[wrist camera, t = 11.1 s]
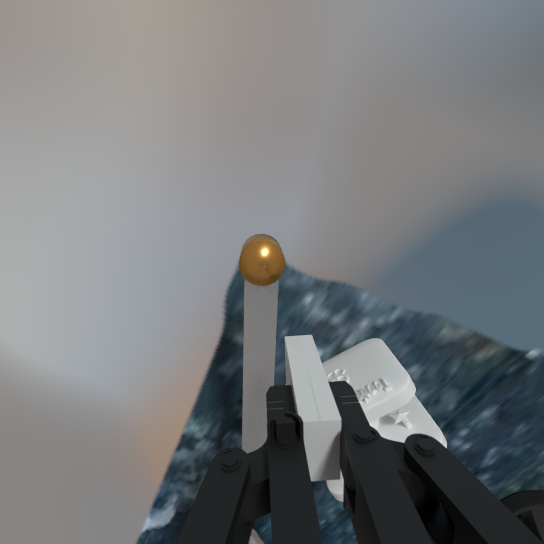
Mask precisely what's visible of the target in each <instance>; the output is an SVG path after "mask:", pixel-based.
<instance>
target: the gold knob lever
mask: <svg viewBox="0 0 544 544" xmlns="http://www.w3.org/2000/svg"><path fill="white" fill-rule="evenodd" d="M239 267H240V271H241V273H242V275H243V277H244V278H245V292H244V353H243V415H242V445H241V446H240V447H239V449H243V450H244V451H245V452H246V453H250V452H253V451H255V450H257V449H259V448H260V447H261V446H262V445H263V444H264V443H265V442H266V439H267V406H266V393H267V391H268V389H269V387H270V386H274V367H275V345H276V324H277V302H278V280H279V278H280V277H281V276H282V274H283V272H284V268H285V259H284V255H283V253H282V250H281V247H280V245H279V243H278V242H277V240H275V239H274V238H273V237H271V236H270V235H266V234H256V235H254V236H251V237H250V238H249V239H247V240H246V242H245V243H244V245H243V247H242V251H241V255H240V260H239Z"/></svg>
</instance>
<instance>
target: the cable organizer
mask: <svg viewBox="0 0 544 544" xmlns="http://www.w3.org/2000/svg"><path fill="white" fill-rule="evenodd" d="M322 366H323V368H324V371H325V374H326V377H327V380H328V382H332V381H346V382H347V383H348V384H349V385H351V386H352V387H353V389H354V392H355V394H356V396H357V398H358V400H359V403H360V405H361V407H362V409H363V411H364V413H365V416H366V418H367V420H368V422H369V424H370V426H372V427H373V428H374V429H376V430H377V431H378V432H379V434H380V435H381V437H383V438H386V439H389V440H393V441H398V442H403V443H405V440H406V438H407V437H408V436H410V435H411V434H417V433H420V434H425V435H428V436H431V437H433V438H435V439H436V440H438V441H439V442H440V443H441V444H442V445H443V446H444V447H445V448H446V449H447V442H446V439H445V437H444V435H443V434H442V432H441V430H440V429H439V427H438V426H437V425H436V423H435V422H434V421H433V419H432V418H431V416H430V415H429V414H428V412H427V411H426V410H425V408H424V407H423V406H422V404H421V403H420V401H419V400H418V399H417V397H416V396H415V395H414V394H415V392H416V388H415V385H414V383H413V382H412V380H411V378H410V376H409V374H408V373H407V372H406V370H405V369H404V368H403V367H402V365H401V364H400V363H399V361H398V360H397V359H396V358H395V356H394V355H393V354H392V352H391V351H390V350H389V349H388V347H387V346H386V345H385V343H384V342H383V341H382V340H381V339H378V338H373V339H368V340H365V341H363V342H361V343H359V344H357V345H355V346H353V347H351V348H349V349H348V350H346V351H344V352H342V353H340V354H338V355H336V356H335V357H333V358H331V359H329V360H327V361H325V362H323V363H322ZM286 385H287V384H286ZM326 482H327V486H328V489H329V490H330V492H331V493H332V495H333V496H334V497H335V498H336V499H337V500H338V501H341V502H343V489H344V479H343V476H342V472H341V473H340V479H338V480H326Z"/></svg>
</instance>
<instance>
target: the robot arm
mask: <svg viewBox="0 0 544 544" xmlns="http://www.w3.org/2000/svg"><path fill="white" fill-rule="evenodd" d="M285 359H286V381H287V385H282V386H270V387H269V389H268V391H267V393H266V406H267V439H266V442H265V443H264V444H263V445H262V446H261V447H260V448H259V449H257V450H255V451H253V452H250V453H246V452H245V451H244V450H243V449H239V448H227V449H224V450H222V451H220V452H219V453H218V454H216V456H215V457H214V459H213V460H212V462H211V464H210V467H209V469H208V471H207V474H206V476H205V478H204V480H203V483H202V485H201V487H200V489H199V492H198V494H197V496H196V498H195V501H194V503H193V505H192V508H191V510H190V512H189V514H188V517H187V519H186V521H185V523H184V526H183V528H182V530H181V532H180V535H179V537H178V539H177V542H176V544H249V540H250V536H251V532H252V528H253V524H254V520H255V519H257V518H259V517H262V516H264V515H266V514H268V513H271V525H272V544H322V538H321V533H320V527H319V522H318V516H317V511H316V505H315V500H314V494H313V489H312V483H311V481H325V480H338V479H340V473H341V472H342V476H343V479H344V489H343V508H344V509H347V506H348V510H349V513H350V517H351V520H352V524H353V528H354V531H355V535H356V539H357V542H358V544H544V491H543V490H530V491H524V492H520V493H517V494H514V495H511V496H509V497H507V498H505V499H503V500H502V501H500V500H499V499H498V498H497V497H496V496H495V495H494V494H493V493H491V492H490V491H489V490H488V489H487V488H486V487H485V486H484V485H483V484H482V483H481V482H480V481H479V480H478V479H477V478H476V477H475V476H474V475H473V474H472V473H471V472H470V471H469V470H468V469H467V468H466V467H465V466H464V465H463V464H462V463H461V462H460V461H459V460H458V459H457V458H456V457H455V456H454V455H453V454H452V453H451V452H450V451H448V450H447V449H446V448H445V447H444V446H443V445H442V444H441V443H440V442H439V441H438V440H436V439H435V438H433V437H431V436H428V435H425V434H420V433H417V434H411V435H410V436H408V437H407V438H406V440H405V443H403V442H398V441H393V440H389V439H386V438H383V437H381V435H380V434H379V432H378V431H377V430H376V429H374V428H373V427H372V426H370V424H369V422H368V420H367V418H366V416H365V413H364V411H363V409H362V407H361V405H360V403H359V400H358V398H357V396H356V394H355V392H354V389H353V387H352V386H351V385H349V384H348V383H347V382H346V381H332V382H328V380H327V377H326V374H325V371H324V368H323V366H322V363H321V360H320V357H319V354H318V351H317V349H316V346H315V343H314V340H313V337H312V335H303V336H287V337H285Z"/></svg>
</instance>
